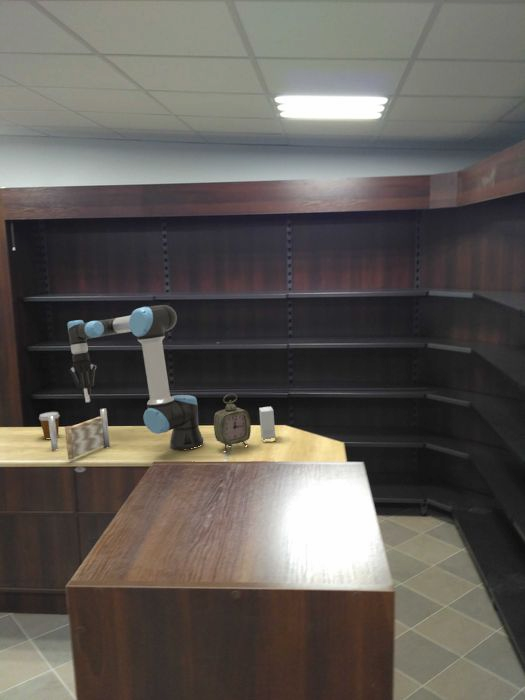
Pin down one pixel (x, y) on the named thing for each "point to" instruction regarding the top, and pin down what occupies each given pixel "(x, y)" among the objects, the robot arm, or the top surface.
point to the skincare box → (267, 423)
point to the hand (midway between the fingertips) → (88, 401)
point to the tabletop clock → (232, 424)
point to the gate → (84, 437)
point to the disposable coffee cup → (45, 422)
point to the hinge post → (105, 427)
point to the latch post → (53, 432)
